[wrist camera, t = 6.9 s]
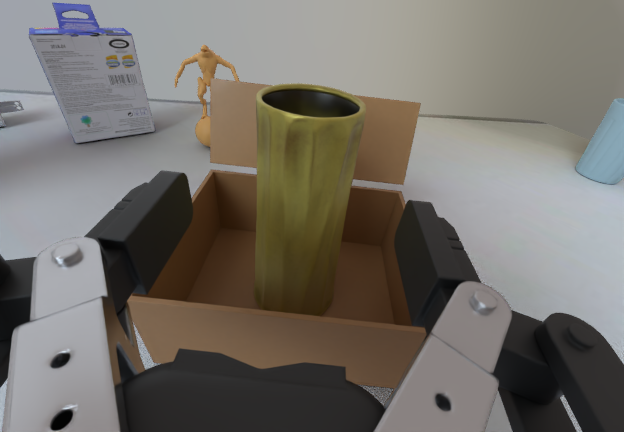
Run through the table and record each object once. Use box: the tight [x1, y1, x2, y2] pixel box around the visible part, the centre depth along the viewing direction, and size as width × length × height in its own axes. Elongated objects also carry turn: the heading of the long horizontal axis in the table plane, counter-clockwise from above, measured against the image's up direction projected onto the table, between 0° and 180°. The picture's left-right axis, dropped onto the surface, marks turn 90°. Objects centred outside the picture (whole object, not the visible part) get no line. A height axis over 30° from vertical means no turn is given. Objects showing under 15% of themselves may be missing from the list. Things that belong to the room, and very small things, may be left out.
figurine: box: [175, 45, 240, 147], centre depth 38 cm, size 8×6×12 cm
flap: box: [210, 78, 420, 185], centre depth 22 cm, size 16×6×1 cm
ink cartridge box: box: [29, 3, 155, 143], centre depth 37 cm, size 10×6×14 cm, turn 127°
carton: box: [127, 170, 427, 388], centre depth 21 cm, size 16×13×6 cm
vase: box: [254, 84, 366, 316], centre depth 18 cm, size 6×6×14 cm
